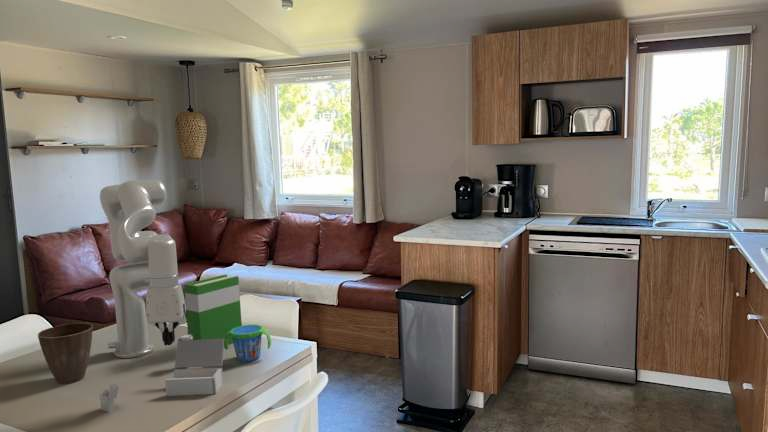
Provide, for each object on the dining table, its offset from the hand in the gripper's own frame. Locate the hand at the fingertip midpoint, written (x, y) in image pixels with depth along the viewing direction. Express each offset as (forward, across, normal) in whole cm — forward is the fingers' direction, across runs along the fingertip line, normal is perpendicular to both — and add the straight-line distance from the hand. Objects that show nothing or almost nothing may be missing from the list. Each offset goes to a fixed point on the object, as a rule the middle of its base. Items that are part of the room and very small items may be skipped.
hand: (169, 343), depth 162 cm
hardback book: (+15, +2, +39) cm, 42 cm away
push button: (+15, -2, +19) cm, 25 cm away
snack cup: (+15, +16, +24) cm, 33 cm away
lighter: (+14, -12, -12) cm, 22 cm away
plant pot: (+15, -36, +12) cm, 41 cm away
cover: (+5, +6, +6) cm, 11 cm away
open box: (+14, +6, 0) cm, 16 cm away
